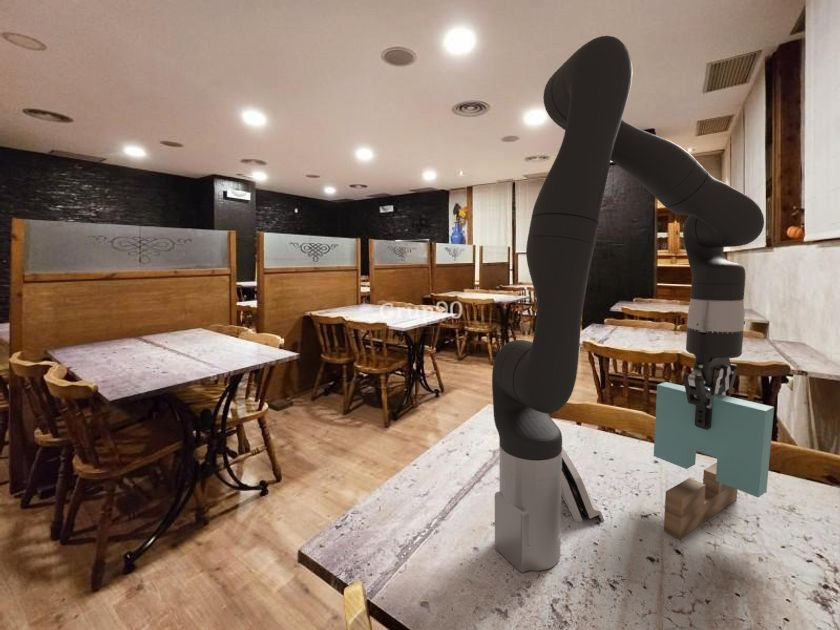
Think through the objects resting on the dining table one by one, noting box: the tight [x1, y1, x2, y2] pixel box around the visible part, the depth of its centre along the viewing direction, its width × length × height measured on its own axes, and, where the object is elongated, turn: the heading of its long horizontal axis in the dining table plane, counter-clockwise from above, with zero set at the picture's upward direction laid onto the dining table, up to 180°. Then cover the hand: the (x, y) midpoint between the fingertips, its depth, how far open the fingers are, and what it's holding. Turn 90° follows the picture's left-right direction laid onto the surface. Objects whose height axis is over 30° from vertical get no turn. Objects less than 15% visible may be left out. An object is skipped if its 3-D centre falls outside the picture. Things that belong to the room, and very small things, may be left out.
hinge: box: [561, 446, 605, 523], centre depth 76 cm, size 17×5×10 cm, turn 177°
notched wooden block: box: [663, 462, 738, 540], centre depth 69 cm, size 20×2×7 cm, turn 120°
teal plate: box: [653, 381, 775, 498], centre depth 68 cm, size 16×3×14 cm, turn 30°
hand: (707, 424), depth 67 cm, fingers closed on teal plate, 3 cm apart
